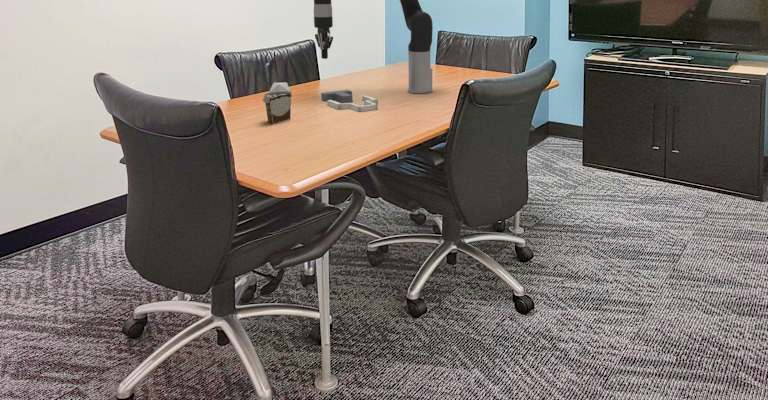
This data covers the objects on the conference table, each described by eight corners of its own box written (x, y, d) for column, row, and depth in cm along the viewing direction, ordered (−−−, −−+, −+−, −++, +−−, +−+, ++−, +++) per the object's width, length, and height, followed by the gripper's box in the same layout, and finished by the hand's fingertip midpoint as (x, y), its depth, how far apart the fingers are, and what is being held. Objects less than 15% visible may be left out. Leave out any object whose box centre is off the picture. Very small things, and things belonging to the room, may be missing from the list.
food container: (280, 116, 280) (278, 89, 277) (293, 118, 277) (291, 91, 274) (257, 123, 271) (255, 95, 267) (270, 125, 267) (268, 97, 264)
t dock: (365, 100, 306) (365, 95, 305) (387, 108, 291) (387, 102, 290) (327, 105, 298) (327, 100, 297) (348, 113, 283) (348, 108, 283)
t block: (347, 96, 314) (347, 89, 313) (361, 101, 304) (361, 94, 303) (321, 100, 308) (321, 92, 307) (334, 105, 298) (334, 97, 297)
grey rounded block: (282, 107, 298) (295, 86, 299) (262, 96, 299) (275, 74, 299) (285, 111, 307) (297, 89, 307) (265, 99, 307) (278, 78, 307)
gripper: (338, 16, 303) (340, 59, 309) (324, 13, 314) (325, 55, 320) (321, 17, 300) (323, 61, 305) (307, 14, 311) (309, 57, 316)
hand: (324, 58), depth 313 cm, fingers closed
